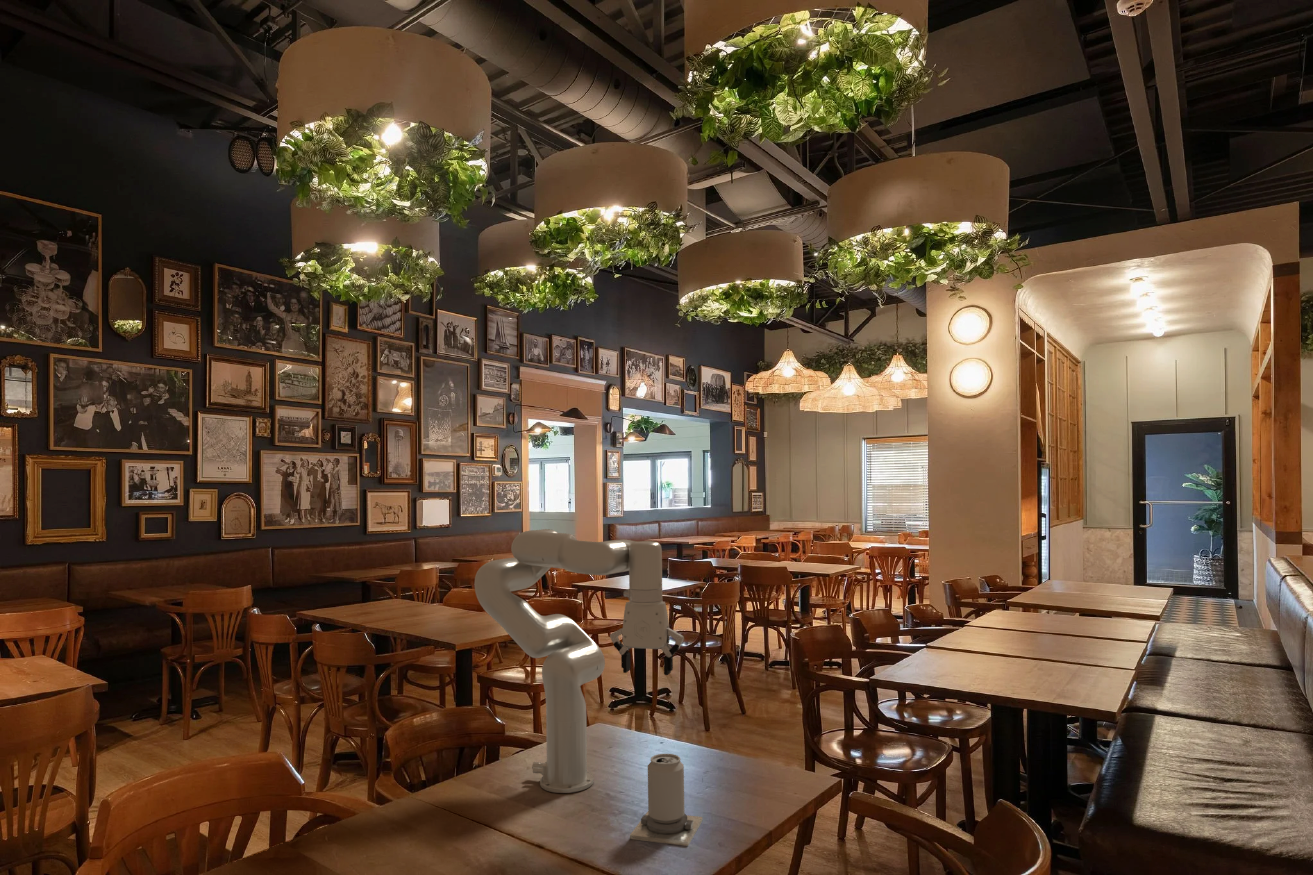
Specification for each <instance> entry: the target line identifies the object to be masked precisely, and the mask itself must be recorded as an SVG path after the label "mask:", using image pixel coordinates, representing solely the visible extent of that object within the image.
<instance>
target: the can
mask: <svg viewBox="0 0 1313 875" xmlns="http://www.w3.org/2000/svg"><path fill="white" fill-rule="evenodd" d="M647 799H648V800H647V803H648V806H647V807H648V808H647V812H648V815H649V816H650V817H651V818H652V819H653V820H654V821H656V822H659V823H674V822H676V821H678V820H680V818H681V817H682V816H683V815H684V814H686V812H685V811H686V810H685V766H684V764H683V763H682V762H681V757H680V756H679V755H677V754H674V753H658V754H654V755H653V756H651V757H650V762H649V764H648V765H647Z"/></svg>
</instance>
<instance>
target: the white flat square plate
mask: <svg viewBox="0 0 1313 875" xmlns="http://www.w3.org/2000/svg"><path fill="white" fill-rule="evenodd" d="M702 822H703V816H699V815H697V816H696V815H688V814H686V813H685V814H684V815H683V816H682V817H681V818H680V820H678V821H676V822H674V823H659V822H656V821H654V820H653V819H652V818H651V817H650V816H649V815H648V811H647V812H646V813H645V814H644V815H642V817H641V818H640V821H639V822H638V824H637V825H636V826H635V828H634V829H633V831H632V832H631V833H630V834H629V839H630V840H635V841H643V842H650V843H651V842H652V843H659V844H669V845H674V846H684V847H689V845H690V844H691V842H692V840H693V839H694V837H695V835H696V833H697V831H698V830H699V828H700V826H701V824H702Z"/></svg>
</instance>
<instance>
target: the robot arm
mask: <svg viewBox="0 0 1313 875" xmlns="http://www.w3.org/2000/svg"><path fill="white" fill-rule="evenodd" d="M510 549H511V550H510V551H511V554H512V555H513V557H508V558H507V557H506V558H502V559H501V558H500V559H495V560H491V561H489V562H486V563H485V564H483V565H481V566H480V567H479V568H478V570H477V571H476V574H475V576H474V592H475V596H476V598H477V601H478V603H479V605H480V606H481V607H482V608H483V610H484V611H485V612H486V613H487V614H488V615H489V616H490V617H491V618H492V619H493V620H494V621H495V622H497V624H499V626H500V627H502V629H503V630H504V631H505V632H506V633H507V634H508V635H509V636H510V638H511V639H512V640H513V641H514V642H515V643H516V644H517V646H519V647H520V648H521V650H523V652H524V653H526V655H528V656H529V657H531V658H533V659H539V658H544V657H546V658H545V660H544V662H543V663H542V668H541V678H542V683H543V688H544V695H545V718H546V722H545V723H546V761H545V762H541V761H540V762H539V761H533V762H532V765H531V769H532V773H533V774H540V775H542V777H541V778H540V781H539V784H540V788H542V789H543V790H545V791H547V792H549V793H550V792H551V793H557V794H569V793H570V794H572V793H577V792H580V791H581V792H582V791H584V790H586V789H587V790H588V789H589V788H590V787H591V786H592V785H593V784H594V776H593V774H592V773H591V772H589V771H588V762H587V760H588V759H587V757H588V754H587V752H588V747H587V743H588V742H587V741H588V740H587V739H588V738H587V736H588V735H587V733H588V732H587V703H586V699H585V697H584V694H583V692H582V688H581V686H582V685H584V684H586V683H590V682H591V681H594V680H597V679H598V678H599V677H600V676H601V675H602V674H603V672H604V670H605V665H606V659H605V654H604V653H603V651H602V649H601V647H599V645H598V644H597V643H596V642H595V641H594V640H593V639H592V638H591V637H590V635H588V634H587V633H586V632H585V631H584V630H583V628H581V627H580V625H578V624H577V623H576V621H575V620H573V619H572V618H571V617H569V616H566V615H565V614H561V613H555V614H554V613H553V614H548V615H541V614H540V613H538V612H537V611H536V610H535V609H534V608H533V607H532V606H531V605H530V604H529V603H528V602H527V601H526V600H524V599H523V598H521V597H519V596H518V595H516V594H514V593H512V592H516V591H520V590H521V591H522V590H525V589H528V588H530V587H532V586H533V585H535V584H536V583H537V582H538V581H539V580H540V579H541V578H542V577H543V576H544V575H545V574H546V573H547V572H548V571H549V570H550V569H551V568H552V569H553V568H554V569H561V570H562V569H563V570H565V571H568V572H571V573H574V574H575V573H576V574H583V575H593V576H608V575H612V574H618V573H624V572H628V576H629V579H628V582H629V584H628V587H629V588H628V589H627V590H623V597H627V598H628V601H627V602H625V606H624V611H623V612H624V613H623V618H622V619H623V621H622V628H619V629H618V630H615V631H614V632H612V633H610V635H609V637H610V640H611V642H612V643H613V647H614V648H615V649H616V650H617V651H618V654H619V655H621V656H620V658H621V663H620V664H621V665H620V666H621V669H622V671H623V674H626V673H628V672H630V671H631V652H629V651H630V650H631V649H647V650H660V649H661V651H662V652H663V653H664V654H665V656H664V657H663V675H664V676H668V675H670V674H671V673H672V671H673V670H674V662H673V660H674V657H673V656H674V655H675V653H676V652H678V650H680V648H681V646H682V644H683V642H684V640H685V636H684V635H682V634H680V633H678V631H676V630H673V629H672V628H670V624H669V622H670V620H669V614H668V610H667V609H668V608H667V604H666V601H663V557H662V556H663V555H662V554H663V550H662V545H661V544H660V543H659V542H658V541H650V540H648V541H647V540H646V541H645V540H642V541H636V540H630V539H614V540H605V541H587V540H579V539H577V538H576V536H574V535H573V534H572V533H567V532H566V533H564V532H558V531H556V530H553V529H549V528H548V529H547V528H544V529H542V528H541V529H534V530H533V529H532V530H525V531H523V532H520V533H518V534H517V535H516V536H515V538H514V539H513V541H512V543H511V548H510ZM621 635H622V641H620V639H619V637H620V636H621ZM670 638H672V639H674V640H675V642H674V645H673V646H671V645H670Z"/></svg>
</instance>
